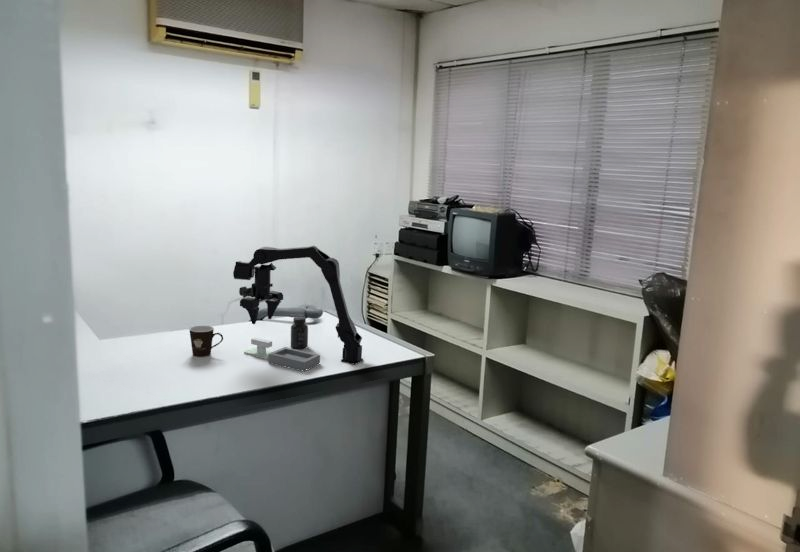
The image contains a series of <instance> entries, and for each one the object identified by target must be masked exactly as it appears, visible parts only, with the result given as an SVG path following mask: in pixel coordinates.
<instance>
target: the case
mask: <svg viewBox="0 0 800 552" xmlns="http://www.w3.org/2000/svg"><path fill="white" fill-rule="evenodd" d="M270 352H271V353H269V354H268V359H267V363H268V362H269V363H268V364H271V363H273V364H272V365H275V364H277V365H276V366H279V365H281V366H280V367H283V366H286V367H285V368H287V367H290V368H289V369H291V368H294V369H293V370H295V369H299V370H303V371H304V372H306V371H307V370H306V369H309V368H311V367H313V366H315V365H317V364H319V363H320V364H321V354H317V353H313V352H309V351H306V350H305V351H304V350H302V349H293V348H292V347H287V346H283V347H280V348H278V349H276V350H274V351H270ZM320 364H319V365H320ZM317 366H318V365H317ZM315 367H316V366H315ZM313 368H314V367H313ZM311 369H312V368H311ZM299 370H298V371H299ZM305 370H306V371H305ZM309 370H310V369H309ZM303 371H302V372H303Z"/></svg>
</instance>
